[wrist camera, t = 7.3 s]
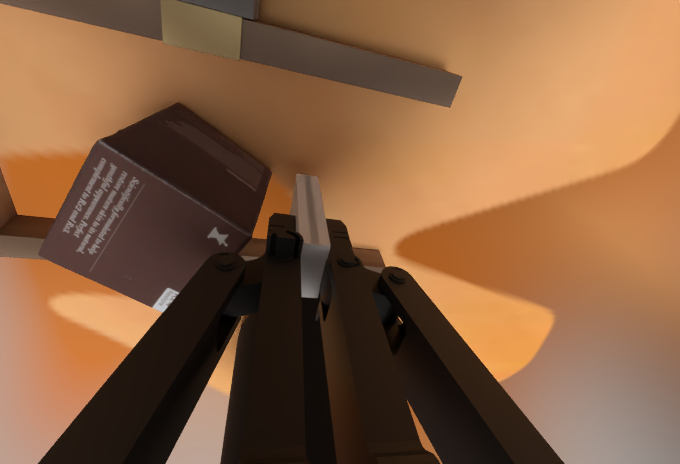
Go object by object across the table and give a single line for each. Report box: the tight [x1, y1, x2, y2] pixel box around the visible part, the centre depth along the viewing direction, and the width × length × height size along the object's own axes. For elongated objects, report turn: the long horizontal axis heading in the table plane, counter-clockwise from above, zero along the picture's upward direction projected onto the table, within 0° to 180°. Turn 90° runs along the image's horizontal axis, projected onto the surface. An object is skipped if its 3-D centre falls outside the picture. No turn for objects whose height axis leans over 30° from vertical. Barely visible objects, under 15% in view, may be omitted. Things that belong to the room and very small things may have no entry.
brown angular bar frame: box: [0, 0, 462, 273], centre depth 16 cm, size 16×24×4 cm
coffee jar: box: [220, 291, 337, 464], centre depth 20 cm, size 11×11×18 cm
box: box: [38, 103, 272, 312], centre depth 15 cm, size 6×6×7 cm
